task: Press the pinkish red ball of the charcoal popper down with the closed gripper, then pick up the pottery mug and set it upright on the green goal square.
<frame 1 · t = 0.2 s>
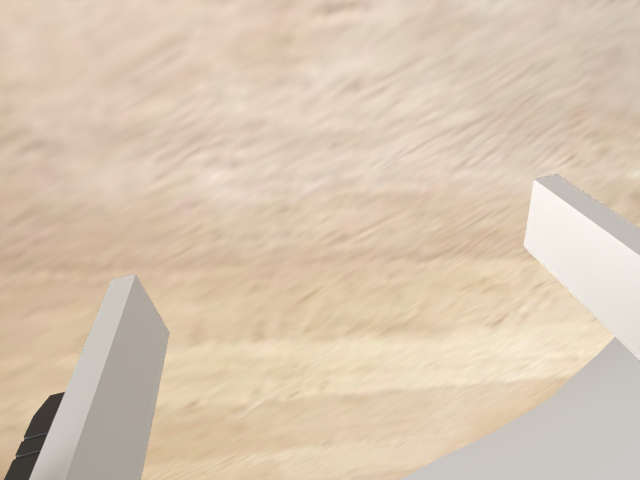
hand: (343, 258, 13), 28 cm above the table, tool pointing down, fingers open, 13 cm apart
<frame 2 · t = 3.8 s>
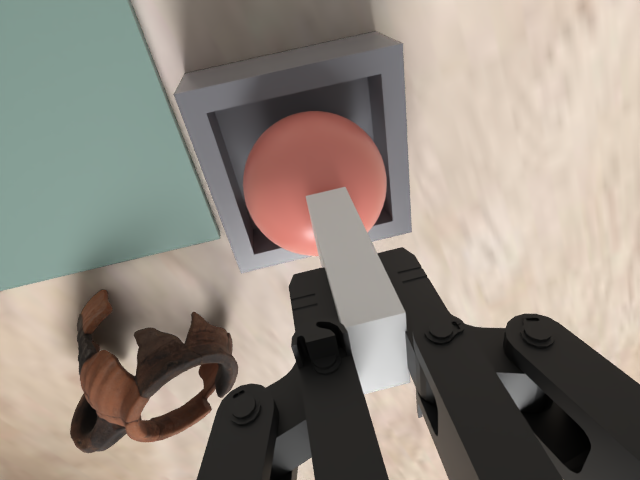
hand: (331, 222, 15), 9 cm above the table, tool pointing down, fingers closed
goal square: (37, 146, 20), on the table
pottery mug: (150, 335, 29), on the table
pinkish red ball: (315, 185, 18), point 5 cm above the table, slide at 1.3 cm, touching gripper
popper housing: (300, 143, 22), on the table
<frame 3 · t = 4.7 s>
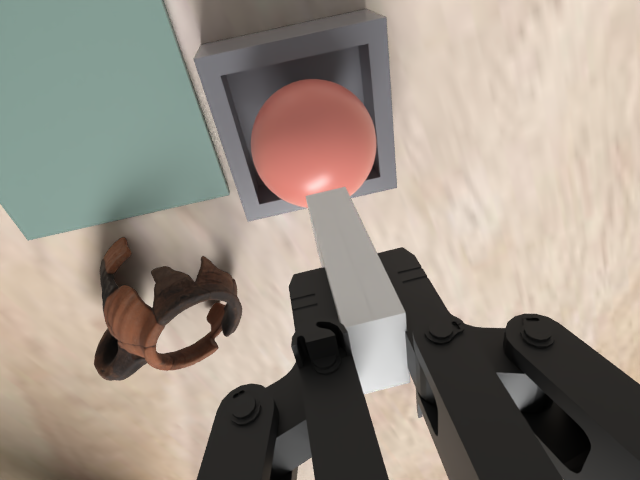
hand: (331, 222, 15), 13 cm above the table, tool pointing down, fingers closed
goal square: (74, 107, 24), on the table
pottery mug: (164, 283, 32), on the table
pinkish red ball: (313, 145, 21), point 6 cm above the table, slide at 0.4 cm
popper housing: (300, 109, 26), on the table
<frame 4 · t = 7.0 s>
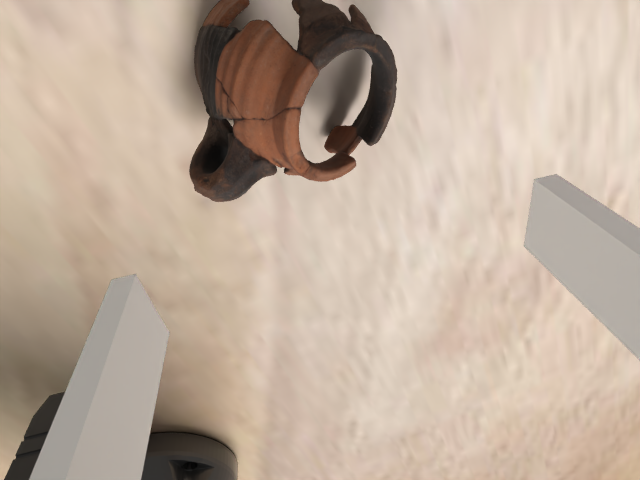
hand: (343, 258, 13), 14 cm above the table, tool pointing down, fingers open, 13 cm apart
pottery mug: (272, 90, 24), on the table
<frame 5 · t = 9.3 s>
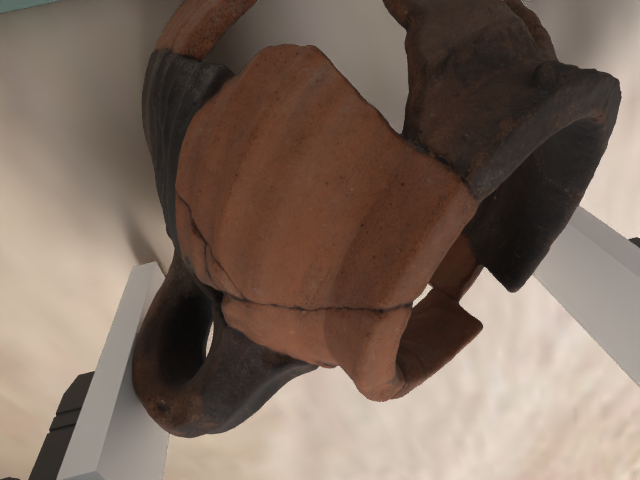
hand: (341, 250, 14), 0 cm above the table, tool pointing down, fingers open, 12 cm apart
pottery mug: (302, 165, 12), on the table, touching gripper
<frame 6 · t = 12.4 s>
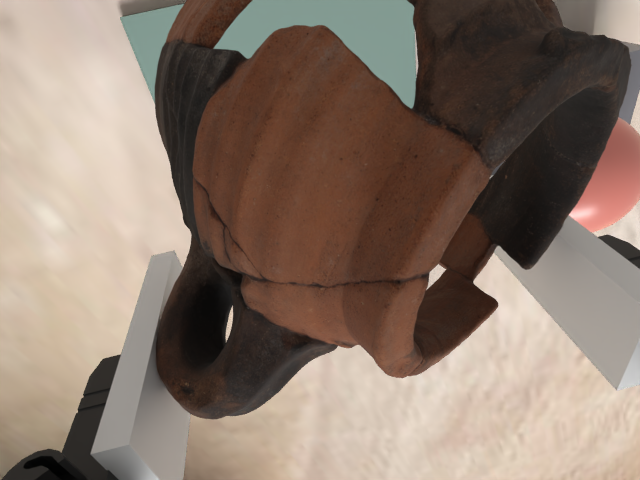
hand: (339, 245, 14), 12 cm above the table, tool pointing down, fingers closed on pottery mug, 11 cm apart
goal square: (298, 134, 24), on the table
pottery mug: (312, 152, 12), point 11 cm above the table, touching gripper
pinkish red ball: (569, 173, 21), point 6 cm above the table, slide at 0.4 cm
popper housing: (505, 134, 26), on the table
when the fingers open (1 cm above the table, at t = 15.1 s): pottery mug stays where it is, resting on goal square.
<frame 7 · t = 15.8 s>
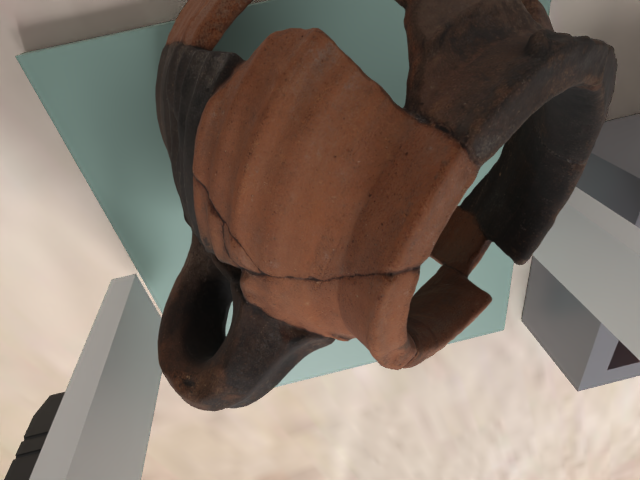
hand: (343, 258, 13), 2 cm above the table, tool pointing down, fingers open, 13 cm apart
goal square: (334, 229, 15), on the table
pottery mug: (310, 151, 13), resting on goal square
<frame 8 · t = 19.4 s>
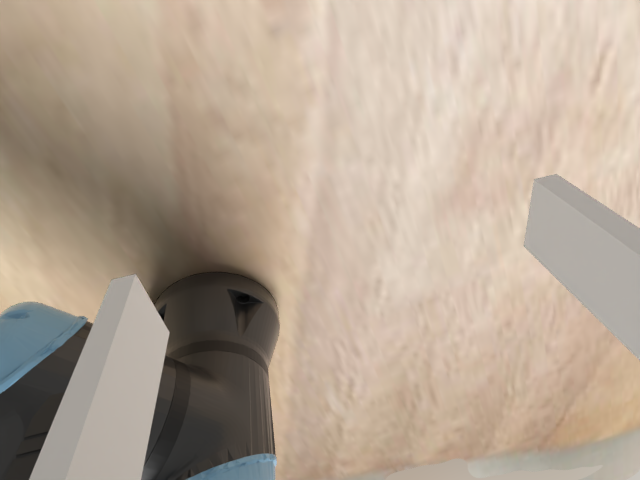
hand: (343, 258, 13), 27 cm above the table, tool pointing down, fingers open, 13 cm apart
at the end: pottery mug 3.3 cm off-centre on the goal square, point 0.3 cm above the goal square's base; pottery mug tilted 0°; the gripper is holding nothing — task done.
